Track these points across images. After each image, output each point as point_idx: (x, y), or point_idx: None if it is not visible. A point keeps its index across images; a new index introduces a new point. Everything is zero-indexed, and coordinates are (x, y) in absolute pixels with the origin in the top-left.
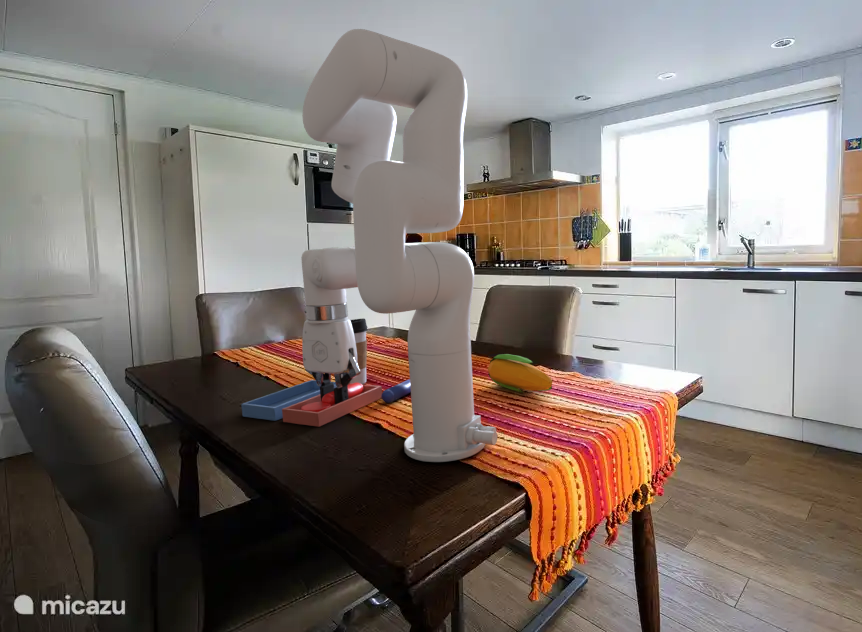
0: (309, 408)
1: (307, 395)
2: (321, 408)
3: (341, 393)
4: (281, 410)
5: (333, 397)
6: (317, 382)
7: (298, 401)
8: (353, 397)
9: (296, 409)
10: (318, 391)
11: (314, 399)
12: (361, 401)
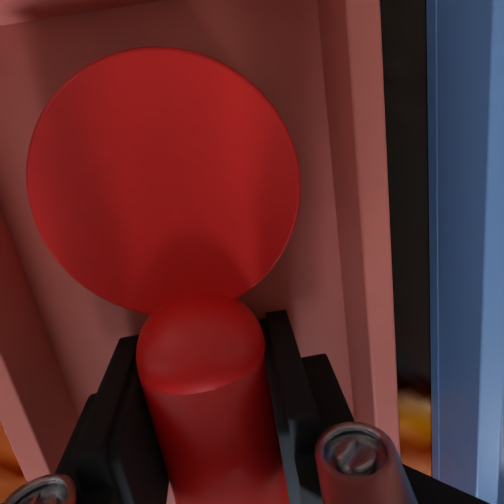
0: (149, 109)
1: (483, 333)
2: (34, 166)
3: (72, 446)
4: (463, 1)
5: (143, 379)
6: (387, 457)
7: (470, 221)
8: (35, 471)
9: (337, 91)
10: (478, 439)
11: (360, 313)
12: None
